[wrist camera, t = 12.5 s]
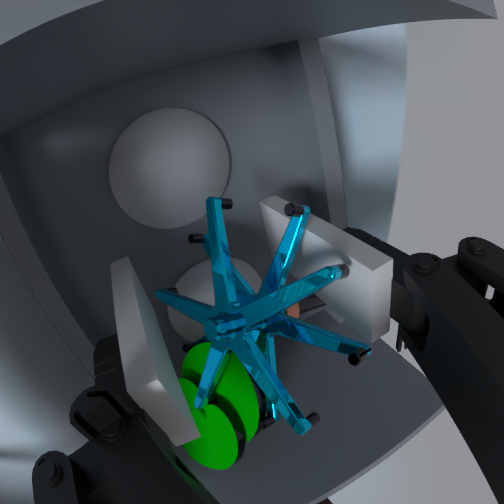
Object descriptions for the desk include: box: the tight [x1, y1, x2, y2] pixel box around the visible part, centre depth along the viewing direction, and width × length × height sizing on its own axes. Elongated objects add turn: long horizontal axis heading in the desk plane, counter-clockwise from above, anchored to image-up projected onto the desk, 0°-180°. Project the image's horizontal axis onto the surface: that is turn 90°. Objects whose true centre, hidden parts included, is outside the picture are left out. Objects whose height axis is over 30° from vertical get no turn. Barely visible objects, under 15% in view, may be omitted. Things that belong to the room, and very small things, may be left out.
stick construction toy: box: [155, 196, 372, 470], centre depth 13 cm, size 12×7×8 cm, turn 161°
